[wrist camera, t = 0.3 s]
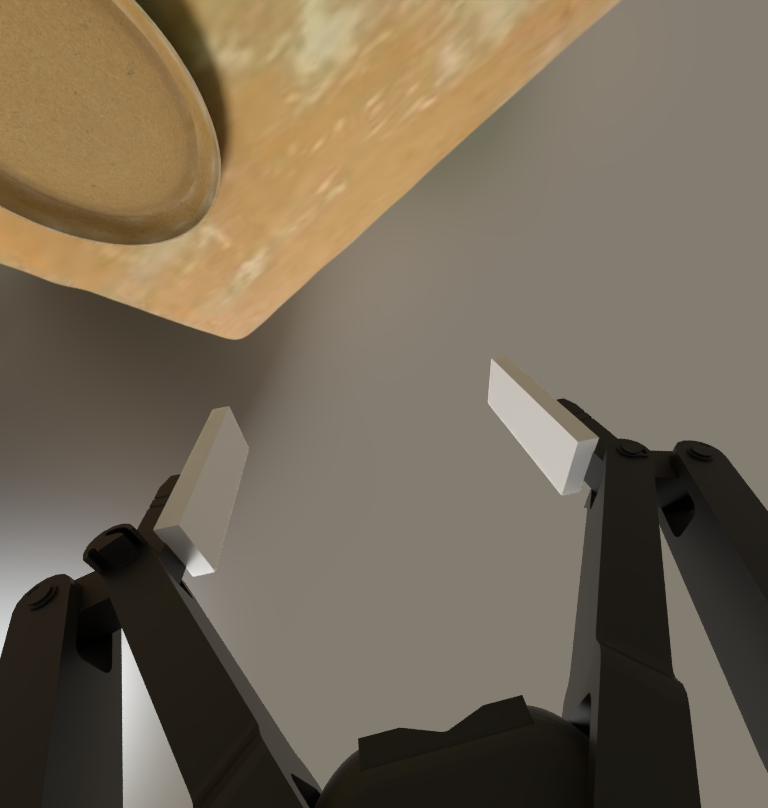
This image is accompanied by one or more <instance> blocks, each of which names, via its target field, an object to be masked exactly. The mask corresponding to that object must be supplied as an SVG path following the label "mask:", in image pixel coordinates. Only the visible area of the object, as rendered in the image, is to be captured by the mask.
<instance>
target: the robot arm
mask: <svg viewBox="0 0 768 808" xmlns="http://www.w3.org/2000/svg"><path fill="white" fill-rule="evenodd" d="M488 404H489V405H490V407H491V408H492V409H493V410H494V412H495V413H496V414H497V415H498V416H499V418H500V419H501V420H502V422H503V423H504V424H505V425H506V426H507V428H508V429H509V430H510V431H511V433H512V434H513V435H514V437H515V438H516V439H517V440H518V442H519V443H520V444H521V445H522V447H523V448H524V449H525V450H526V452H527V453H528V454H529V455H530V457H531V458H532V459H533V460H534V462H535V463H536V464H537V465H538V467H539V468H540V469H541V470H542V472H543V473H544V474H545V475H546V476H547V478H548V479H549V480H550V482H551V483H552V484H553V485H554V487H555V488H556V489H557V490H558V492H559V493H560V494H561V495H562V496H563V495H568V494H572V493H577V492H580V491H581V488H582V485H583V483H584V481H585V482H586V483H587V484H588V485H589V486H590V488H591V490H590V493H589V496H588V498H587V501H586V504H585V506H584V507H585V508H587V519H586V527H585V537H584V547H583V556H582V566H581V576H580V585H579V595H578V604H577V614H576V624H575V633H574V642H573V653H572V662H571V671H570V678H569V684H568V688H567V691H566V695H565V700H564V705H563V713H562V718H561V717H560V716H558V715H556V714H554V713H552V712H549V711H547V710H545V709H542V708H538V707H534V706H527V705H526V703H525V701H524V698H523V696H522V695H521V696H517V697H513V698H509V699H505V700H502V701H498V702H495V703H490V704H487V705H483V706H482V707H480V708H479V709H478V710H476V711H475V712H473V713H472V714H471V715H469V716H468V717H466V718H465V719H464V720H463V721H461V722H460V723H458V724H457V725H455V726H454V727H453V728H451V729H450V730H448V731H446V732H436V731H426V730H416V729H407V728H397V729H393V730H389V731H385V732H381V733H378V734H374V735H370V736H366V737H363V738H359V739H358V744H359V750H357V751H356V752H355V753H353V754H352V755H351V756H350V757H349V758H348V759H347V760H346V761H345V762H343V763H342V764H341V766H340V767H339V768H338V769H337V771H336V772H335V773H334V774H333V775H332V777H331V778H330V780H329V782H328V783H327V784H326V786H325V788H324V790H323V791H322V790H321V788H320V787H319V785H318V784H317V782H316V780H315V779H314V778H313V776H312V775H311V773H310V772H309V770H308V769H307V768H306V766H305V765H304V764H303V762H302V761H301V760H300V759H299V758H298V757H297V755H296V754H295V752H294V751H293V749H292V748H291V746H290V745H289V743H288V742H287V740H286V739H285V737H284V735H283V734H282V732H281V731H280V729H279V728H278V726H277V725H276V723H275V721H274V720H273V719H272V717H271V715H270V714H269V712H268V711H267V709H266V708H265V706H264V704H263V703H262V702H261V700H260V698H259V697H258V695H257V694H256V692H255V690H254V689H253V687H252V686H251V684H250V683H249V681H248V680H247V678H246V677H245V675H244V674H243V672H242V670H241V669H240V667H239V666H238V664H237V663H236V661H235V660H234V658H233V657H232V655H231V653H230V652H229V650H228V649H227V647H226V645H225V644H224V642H223V641H222V639H221V638H220V636H219V635H218V633H217V632H216V630H215V629H214V627H213V625H212V624H211V622H210V621H209V619H208V618H207V616H206V615H205V613H204V611H203V610H202V608H201V607H200V605H199V604H198V602H197V601H196V599H195V597H194V596H193V594H192V593H191V591H190V590H189V588H188V587H187V585H186V584H185V582H184V581H183V580H182V577H183V574H184V571H185V569H187V570H188V571H189V572H190V574H191V575H192V576H193V577H194V576H199V575H203V574H208V573H212V572H215V571H216V568H217V564H218V560H219V557H220V553H221V549H222V546H223V542H224V538H225V535H226V531H227V528H228V524H229V521H230V517H231V513H232V509H233V506H234V502H235V499H236V495H237V492H238V488H239V484H240V481H241V477H242V473H243V470H244V466H245V463H246V459H247V455H248V452H249V448H248V446H247V443H246V441H245V439H244V437H243V435H242V433H241V431H240V428H239V426H238V424H237V422H236V420H235V418H234V416H233V414H232V412H231V409H230V407H229V406H228V407H223V408H218V409H213V410H212V412H211V414H210V416H209V418H208V420H207V422H206V424H205V426H204V428H203V430H202V432H201V434H200V436H199V438H198V440H197V442H196V444H195V446H194V448H193V450H192V452H191V455H190V456H189V458H188V460H187V462H186V465H185V466H184V468H183V471H182V473H181V474H179V475H174V476H171V477H170V478H169V479H168V480H167V481H166V482H165V483H164V484H163V485H162V486H161V487H160V488H159V490H158V492H157V494H156V496H155V500H153V501H152V503H151V505H150V509H148V511H147V512H146V514H145V516H144V518H143V520H142V522H141V523H140V525H139V527H138V529H137V530H136V529H135V528H134V527H133V526H132V525H130V524H120V525H117V526H113V527H111V528H110V529H108V530H106V531H104V532H102V533H101V534H100V535H98V536H97V537H96V538H95V539H94V540H93V541H92V542H91V543H90V544H89V545H88V547H87V548H86V550H85V552H84V554H83V560H84V561H85V562H86V563H87V564H88V565H89V566H90V567H92V568H93V569H94V570H95V571H94V572H92V573H90V574H87V575H85V576H83V577H81V578H79V579H76V580H73V579H72V578H71V577H69V576H67V575H65V574H60V575H54V576H52V577H49V578H47V579H45V580H43V581H42V582H40V583H39V584H37V585H35V586H34V587H33V588H32V589H31V590H29V591H28V592H27V593H26V594H25V595H24V596H23V597H22V598H21V600H20V601H19V602H18V603H17V605H16V607H15V609H14V611H13V613H12V617H11V621H10V624H9V628H8V632H7V635H6V639H5V643H4V647H3V650H2V654H1V658H0V808H123V776H122V774H123V773H122V772H123V770H122V664H121V663H122V662H121V661H122V658H121V656H122V655H121V628H122V629H123V631H124V634H125V636H126V638H127V641H128V644H129V646H130V649H131V651H132V653H133V656H134V658H135V661H136V663H137V666H138V668H139V671H140V673H141V676H142V678H143V680H144V683H145V685H146V688H147V690H148V693H149V695H150V697H151V700H152V703H153V705H154V708H155V710H156V713H157V715H158V717H159V720H160V722H161V725H162V727H163V730H164V732H165V734H166V737H167V739H168V742H169V744H170V747H171V749H172V752H173V754H174V757H175V759H176V762H177V764H178V767H179V769H180V772H181V774H182V777H183V779H184V781H185V784H186V786H187V789H188V791H189V794H190V796H191V799H192V802H193V808H701V803H700V795H699V785H698V777H697V769H696V760H695V751H694V743H693V734H692V725H691V717H690V709H689V702H688V697H687V693H686V691H685V688H684V686H683V684H682V683H681V682H680V681H678V680H677V679H676V678H675V675H674V673H673V668H672V658H671V648H670V637H669V626H668V615H667V604H666V593H665V582H664V571H663V561H662V550H661V539H660V528H659V525H660V527H661V529H662V532H663V534H664V536H665V539H666V541H667V543H668V545H669V547H670V550H671V552H672V555H673V557H674V559H675V561H676V564H677V566H678V569H679V571H680V573H681V575H682V578H683V580H684V582H685V585H686V587H687V589H688V591H689V594H690V596H691V598H692V601H693V603H694V606H695V608H696V610H697V612H698V615H699V617H700V619H701V622H702V624H703V626H704V629H705V631H706V633H707V635H708V638H709V640H710V642H711V645H712V647H713V649H714V652H715V654H716V656H717V659H718V661H719V663H720V665H721V668H722V670H723V673H724V674H725V677H726V679H727V681H728V684H729V686H730V689H731V691H732V693H733V695H734V698H735V700H736V703H737V705H738V707H739V709H740V711H741V714H742V716H743V719H744V721H745V723H746V726H747V728H748V730H749V733H750V735H751V737H752V740H753V742H754V744H755V746H756V749H757V751H758V753H759V756H760V758H761V760H762V762H763V764H764V766H765V768H766V770H767V772H768V511H767V510H766V508H765V507H764V506H763V504H762V503H761V502H760V500H759V499H758V498H757V497H756V495H755V494H754V493H753V491H752V490H751V489H750V487H749V486H748V485H747V484H746V482H745V481H744V480H743V479H742V477H741V476H740V474H739V473H738V472H737V470H736V469H735V468H734V467H733V465H732V464H731V463H730V461H729V460H728V459H727V457H726V456H725V455H724V454H723V453H722V452H720V451H719V450H718V449H716V448H714V447H712V446H710V445H708V444H705V443H702V442H697V441H681V442H678V443H677V445H676V446H675V447H674V449H673V451H650V450H649V449H648V448H646V447H645V446H643V445H642V444H640V443H638V442H635V441H632V440H628V439H617V438H616V437H615V436H614V435H612V434H611V433H610V432H609V431H608V430H607V429H605V428H604V427H603V426H602V425H600V424H599V423H598V422H597V421H596V420H594V419H592V418H591V416H589V415H588V414H587V413H585V412H584V410H582V409H581V408H580V407H579V406H577V405H576V404H574V403H572V402H570V401H568V400H566V399H558V400H556V399H554V398H553V397H552V396H551V395H550V394H549V393H548V392H546V391H545V390H544V389H543V388H542V387H541V386H540V385H539V384H537V383H536V382H535V381H534V380H533V379H532V378H531V377H529V376H528V375H527V374H526V373H525V372H524V371H523V370H521V369H520V368H519V367H518V366H517V365H516V364H515V363H513V362H512V361H511V360H510V359H509V358H508V357H507V356H502V357H496V358H492V359H491V369H490V382H489V394H488Z"/></svg>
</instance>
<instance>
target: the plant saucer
mask: <svg viewBox="0 0 768 808" xmlns="http://www.w3.org/2000/svg"><path fill="white" fill-rule="evenodd" d="M220 182H221V156H220V149H219V144H218V140H217V135H216V132H215V128H214V125H213V122H212V119H211V116H210V114H209V111H208V109H207V106H206V104H205V102H204V99H203V97H202V95H201V93H200V91H199V89H198V87H197V85H196V83H195V81H194V80H193V78H192V76H191V74H190V72H189V71H188V69H187V67H186V66H185V64H184V63H183V61H182V59H181V58H180V56H179V55H178V53H177V52H176V50H175V49H174V48H173V46H172V45H171V43H170V42H169V41H168V39H167V38H166V37H165V35H164V34H163V33H162V31H161V30H160V29H159V27H158V26H157V25H156V24H155V22H154V21H153V20H152V19H151V18H150V16H149V15H148V14H147V13H146V12H145V11H144V10H143V8H142V7H141V6H140V5H139V4H138V3H137V2H136V1H135V0H0V207H1V208H2V209H4V210H6V211H8V212H10V213H12V214H14V215H16V216H19V217H21V218H23V219H25V220H28V221H30V222H32V223H34V224H37V225H40V226H42V227H45V228H47V229H50V230H53V231H56V232H59V233H62V234H65V235H68V236H71V237H75V238H79V239H83V240H87V241H91V242H96V243H102V244H108V245H117V246H149V245H156V244H161V243H165V242H169V241H172V240H175V239H178V238H180V237H182V236H184V235H186V234H188V233H189V232H191V231H192V230H194V229H195V228H197V227H198V226H199V225H200V224H201V223H202V222H203V221H204V220H205V219H206V217H207V216H208V214H209V213H210V211H211V210H212V208H213V206H214V204H215V201H216V199H217V196H218V192H219V188H220Z"/></svg>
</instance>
